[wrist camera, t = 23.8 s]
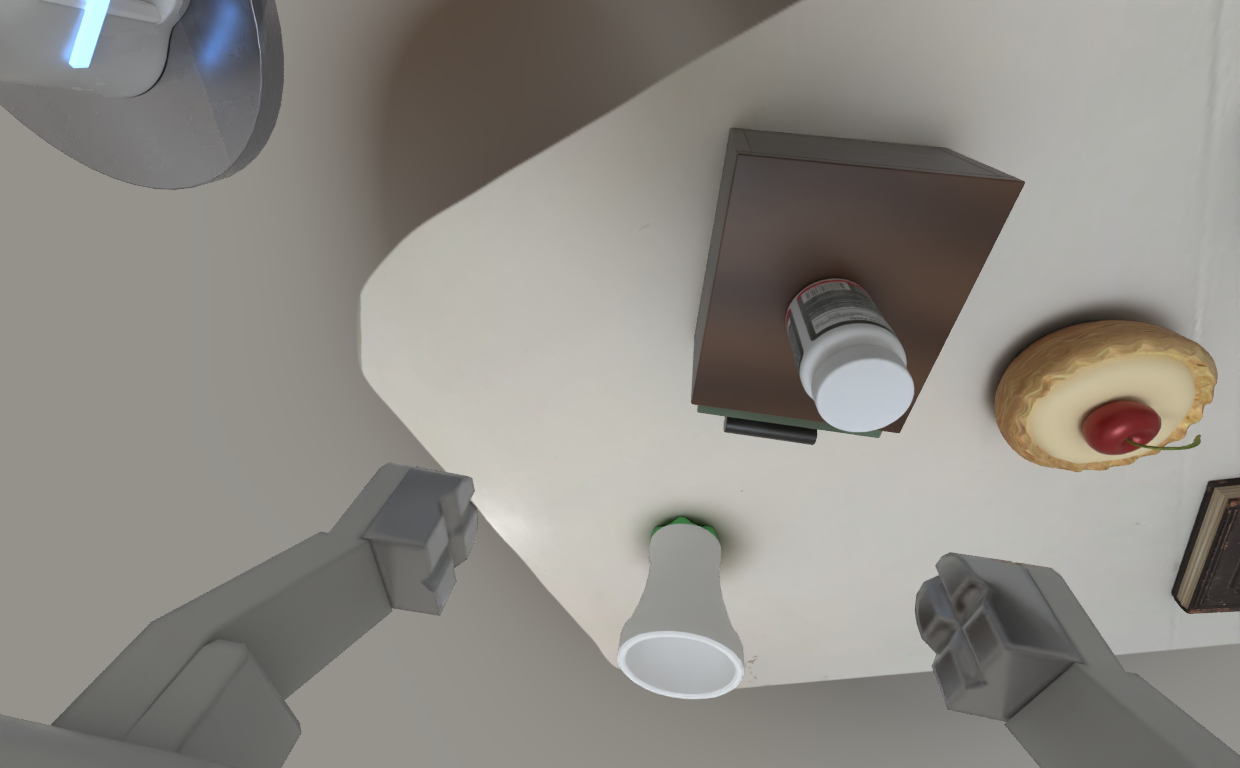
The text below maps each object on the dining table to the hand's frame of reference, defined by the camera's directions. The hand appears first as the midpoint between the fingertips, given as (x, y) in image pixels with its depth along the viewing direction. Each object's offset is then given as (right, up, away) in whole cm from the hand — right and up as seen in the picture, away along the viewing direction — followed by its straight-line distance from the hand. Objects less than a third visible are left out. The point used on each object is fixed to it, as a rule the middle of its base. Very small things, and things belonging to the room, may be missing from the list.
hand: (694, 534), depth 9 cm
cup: (+6, -14, +47) cm, 49 cm away
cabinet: (+12, +12, +28) cm, 32 cm away
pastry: (+33, +3, +30) cm, 45 cm away
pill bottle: (+11, +7, +20) cm, 24 cm away
